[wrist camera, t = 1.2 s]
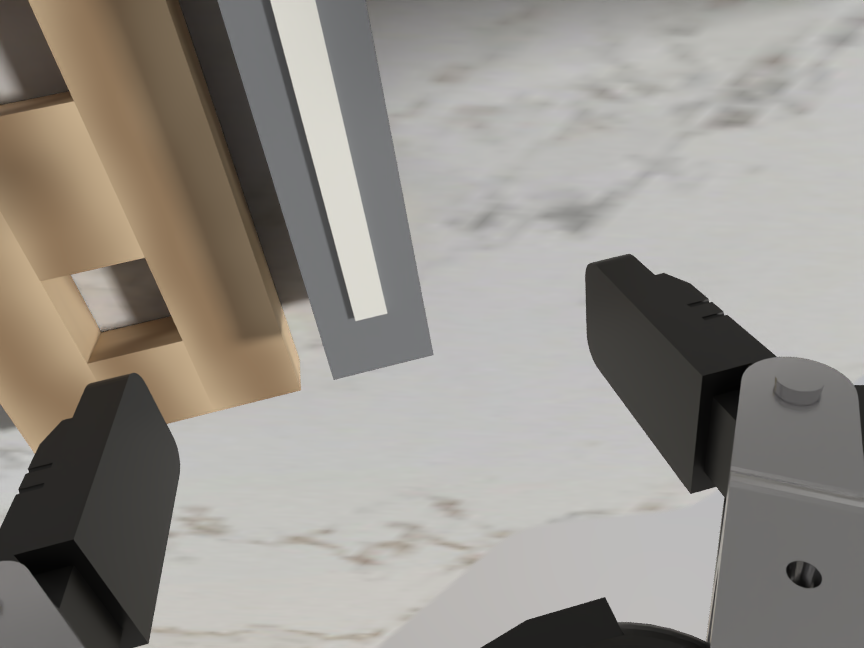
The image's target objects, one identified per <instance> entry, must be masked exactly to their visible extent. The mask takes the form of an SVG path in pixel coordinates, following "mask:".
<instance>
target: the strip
mask: <svg viewBox="0 0 864 648" xmlns="http://www.w3.org/2000/svg"><path fill="white" fill-rule="evenodd" d="M217 1H218V4H219V7H220V11H221V14H222V17H223V20H224V24H225V27H226V30H227V33H228V37H229V40H230V43H231V47H232V50H233V53H234V56H235V60H236V63H237V66H238V69H239V73H240V76H241V79H242V82H243V86H244V89H245V92H246V95H247V99H248V102H249V105H250V108H251V112H252V115H253V118H254V121H255V125H256V128H257V131H258V135H259V138H260V141H261V144H262V148H263V151H264V154H265V157H266V161H267V164H268V167H269V170H270V174H271V177H272V180H273V183H274V187H275V190H276V193H277V196H278V200H279V203H280V206H281V209H282V213H283V216H284V219H285V223H286V226H287V229H288V232H289V236H290V239H291V242H292V245H293V249H294V252H295V255H296V258H297V262H298V265H299V268H300V271H301V275H302V278H303V281H304V284H305V288H306V291H307V294H308V298H309V301H310V304H311V307H312V311H313V314H314V317H315V320H316V324H317V327H318V330H319V333H320V337H321V340H322V343H323V346H324V350H325V353H326V356H327V359H328V363H329V366H330V369H331V372H332V376H333V379H334V380H335V379H339V378H343V377H347V376H351V375H355V374H359V373H363V372H367V371H371V370H375V369H379V368H383V367H387V366H391V365H395V364H399V363H403V362H407V361H411V360H415V359H419V358H423V357H427V356H431V355H433V350H432V345H431V339H430V334H429V329H428V324H427V319H426V313H425V308H424V303H423V298H422V292H421V287H420V282H419V277H418V272H417V266H416V261H415V256H414V251H413V246H412V240H411V235H410V230H409V225H408V219H407V214H406V209H405V204H404V199H403V193H402V188H401V183H400V178H399V172H398V167H397V162H396V157H395V152H394V146H393V141H392V136H391V131H390V125H389V120H388V115H387V110H386V105H385V99H384V94H383V89H382V84H381V78H380V73H379V68H378V63H377V58H376V52H375V47H374V42H373V37H372V32H371V26H370V21H369V16H368V11H367V5H366V0H217Z"/></svg>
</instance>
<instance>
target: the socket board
mask: <svg viewBox="0 0 864 648" xmlns="http://www.w3.org/2000/svg"><path fill="white" fill-rule="evenodd" d="M28 1H29V3H30V6H31V8H32V10H33V12H34V14H35V17H36V19H37V21H38V23H39V25H40V28H41V30H42V32H43V34H44V36H45V39H46V41H47V43H48V45H49V47H50V50H51V52H52V54H53V56H54V58H55V61H56V63H57V65H58V67H59V69H60V72H61V74H62V76H63V78H64V80H65V83H66V85H67V87H68V89H69V91H68V92H63V93H58V94H53V95H48V96H43V97H38V98H33V99H28V100H23V101H19V102H14V103H9V104H4V105H0V404H1V406H2V407H3V408H4V410H5V411H6V413H7V414H8V416H9V417H10V419H11V420H12V421H13V423H14V424H15V426H16V427H17V429H18V430H19V431H20V433H21V434H22V436H23V437H24V439H25V440H26V442H27V443H28V444H29V446H30V447H31V449H32V450H33V452H34V453H36V451H37V449H38V447H39V444H40V443H41V442H42V441H43V440H44V439H45V438H46V437H47V436H48V435H49V434H50V433H51V432H52V431H53V429H54V428H55V427H56V426H57V425H58V424H59V423H60V422H61V421H62V420H65V419H69V418H72V417H73V415H74V413H75V410H76V408H77V406H78V403H79V401H80V399H81V396H82V394H83V392H84V389H85V387H86V386H87V385H88V384H90V383H93V382H97V381H101V380H105V379H110V378H114V377H118V376H122V375H126V374H130V373H137V374H139V375H140V376H141V377H142V379H143V380H144V382H145V383H146V385H147V387H148V389H149V391H150V393H151V395H152V397H153V399H154V401H155V403H156V404H157V406H158V408H159V410H160V412H161V414H162V416H163V418H164V420H165V422H166V424H168V423H172V422H176V421H180V420H184V419H188V418H192V417H196V416H200V415H204V414H208V413H212V412H216V411H220V410H224V409H228V408H232V407H236V406H240V405H244V404H248V403H252V402H256V401H260V400H264V399H268V398H272V397H276V396H280V395H284V394H288V393H292V392H296V391H300V390H301V382H300V360H299V357H298V354H297V351H296V348H295V345H294V342H293V339H292V336H291V333H290V330H289V327H288V324H287V321H286V318H285V315H284V313H283V310H282V307H281V304H280V301H279V298H278V295H277V292H276V289H275V286H274V283H273V280H272V277H271V274H270V271H269V268H268V265H267V262H266V259H265V256H264V253H263V250H262V247H261V244H260V241H259V238H258V235H257V232H256V229H255V227H254V224H253V221H252V218H251V215H250V212H249V209H248V206H247V203H246V200H245V197H244V194H243V191H242V188H241V185H240V182H239V179H238V176H237V173H236V170H235V167H234V164H233V161H232V158H231V155H230V152H229V149H228V146H227V143H226V140H225V138H224V135H223V132H222V129H221V126H220V123H219V120H218V117H217V114H216V111H215V108H214V105H213V102H212V99H211V96H210V93H209V90H208V87H207V84H206V81H205V78H204V75H203V72H202V69H201V66H200V63H199V60H198V57H197V54H196V52H195V49H194V46H193V43H192V40H191V37H190V34H189V31H188V28H187V25H186V22H185V19H184V16H183V13H182V10H181V7H180V4H179V1H178V0H28ZM142 258H145V259H146V261H147V263H148V266H149V268H150V270H151V272H152V274H153V277H154V279H155V281H156V283H157V285H158V288H159V290H160V292H161V294H162V296H163V299H164V301H165V303H166V305H167V307H168V310H169V312H170V314H171V316H169V317H165V318H161V319H157V320H152V321H148V322H144V323H140V324H135V325H131V326H127V327H123V328H118V329H114V330H110V331H106V332H101V331H100V329H99V328H98V326H97V324H96V322H95V320H94V318H93V316H92V314H91V313H90V311H89V309H88V307H87V305H86V303H85V301H84V300H83V298H82V296H81V294H80V292H79V290H78V288H77V286H76V285H75V283H74V281H73V279H72V277H71V274H76V273H80V272H84V271H89V270H93V269H98V268H102V267H106V266H111V265H115V264H120V263H124V262H128V261H133V260H137V259H142Z"/></svg>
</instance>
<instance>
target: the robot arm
mask: <svg viewBox="0 0 864 648" xmlns="http://www.w3.org/2000/svg"><path fill="white" fill-rule="evenodd" d="M585 283H586V323H587V340H588V345H589V349H590V353H591V355H592V358H593V360H594V362H595V364H596V366H597V368H598V369H599V370H600V372H601V373H602V374H603V376H604V377H605V378H606V380H607V381H608V383H609V384H610V385H611V387H612V388H613V389H614V391H615V392H616V393H617V395H618V396H619V397H620V399H621V400H622V402H623V403H624V404H625V406H626V407H627V408H628V410H629V411H630V412H631V414H632V415H633V416H634V418H635V419H636V421H637V422H638V423H639V425H640V426H641V427H642V429H643V430H644V431H645V433H646V434H647V435H648V437H649V438H650V440H651V441H652V442H653V444H654V445H655V446H656V448H657V449H658V450H659V452H660V453H661V454H662V456H663V457H664V459H665V460H666V461H667V463H668V464H669V465H670V467H671V468H672V469H673V471H674V472H675V473H676V475H677V476H678V478H679V479H680V480H681V482H682V483H683V484H684V486H685V487H686V488H687V490H688V491H689V492H690V494H692V493H695V492H699V491H702V490H706V489H710V488H713V487H717V488H718V490H719V491H720V492H721V493H722V495H723V496H724V497H725V498H724V504H723V511H722V519H721V527H720V536H719V543H718V551H717V560H716V568H715V575H714V584H713V592H712V599H711V607H710V615H709V622H708V630H707V637H706V642H705V641H703V640H701V639H699V638H697V637H694V636H692V635H689V634H686V633H682V632H680V631H676V630H674V629H670V628H665V627H660V626H656V625H651V624H642V623H631V622H617V621H616V618H615V616H614V614H613V612H612V610H611V608H610V606H609V604H608V603H607V600H606V598H605V597H604V598H601V599H597V600H594V601H590V602H587V603H584V604H580V605H577V606H573V607H570V608H566V609H563V610H560V611H556V612H553V613H549V614H546V615H543V616H539V617H536V618H532V619H529V620H526V621H524V622H523V623H521V624H519V625H518V626H516V627H515V628H513V629H511V630H509V631H508V632H507V633H504V634H503V635H501V636H500V637H498V638H496V639H495V640H493V641H491V642H490V643H488V644H486V645H485V646H483V647H481V648H864V385H853V384H852V382H851V381H850V380H849V379H848V378H847V377H846V376H844V375H843V374H842V373H840V372H839V371H837V370H835V369H834V368H832V367H829V366H827V365H825V364H822V363H819V362H817V361H813V360H809V359H804V358H797V357H776V356H775V355H774V354H773V353H772V352H771V351H769V350H768V349H767V348H766V347H765V346H763V345H762V344H761V343H760V342H759V341H758V340H756V339H755V338H754V337H753V336H752V335H750V334H749V333H748V332H747V331H746V330H745V329H743V328H742V327H741V326H740V325H739V324H737V323H736V322H735V321H734V320H733V319H732V318H730V317H729V316H728V315H724V313H723V311H722V310H721V309H720V308H719V307H717V306H716V305H715V304H714V303H713V302H710V303H709V299H708V298H707V297H706V296H704V295H703V294H702V293H701V292H700V291H699V290H697V289H696V288H695V287H694V286H693V285H691V284H690V283H688V282H685V281H683V280H680V279H678V278H675V277H673V276H670V275H668V274H665V273H662V274H658V275H654V274H653V273H652V272H651V271H650V270H649V269H647V268H646V267H645V266H644V265H643V264H642V263H641V262H640V261H639V260H638V259H636V258H635V257H634V256H633V255H631V254H626V255H622V256H618V257H613V258H609V259H605V260H601V261H597V262H593V263H590V264H588V266H587V268H586V274H585ZM28 470H29V473H27V474H25V476H24V479H23V481H22V483H21V485H20V487H19V489H18V490H19V494H17V495H16V496H15V498H14V500H13V502H12V504H11V506H10V508H9V511H8V513H7V515H6V517H5V519H4V521H3V523H2V525H1V528H0V648H134V647H138V646H141V645H145V644H148V643H149V638H150V633H151V627H152V622H153V616H154V611H155V605H156V600H157V594H158V589H159V584H160V578H161V573H162V567H163V562H164V556H165V551H166V545H167V540H168V535H169V529H170V524H171V518H172V513H173V507H174V502H175V496H176V491H177V486H178V480H179V474H180V460H179V453H178V449H177V445H176V443H175V440H174V438H173V436H172V434H171V432H170V430H169V428H168V426H167V424H166V422H165V420H164V418H163V416H162V414H161V412H160V410H159V408H158V406H157V404H156V403H155V401H154V399H153V397H152V395H151V393H150V391H149V389H148V387H147V385H146V383H145V382H144V380H143V379H142V377H141V376H140V375H139V374H137V373H130V374H126V375H122V376H118V377H114V378H110V379H105V380H101V381H97V382H93V383H90V384H88V385H87V386H86V387H85V389H84V392H83V394H82V396H81V399H80V401H79V403H78V406H77V408H76V410H75V413H74V415H73V417H72V418H69V419H65V420H62V421H61V422H60V423H59V424H58V425H57V426H56V427H55V428H54V429H53V431H52V432H51V433H50V434H49V435H48V436H47V437H46V438H45V439H44V440H43V441H42V442H41V443H40V444H39V447H38V449H37V451H36V453H35V455H34V457H33V459H32V462H31V464H30V466H29V468H28Z"/></svg>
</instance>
